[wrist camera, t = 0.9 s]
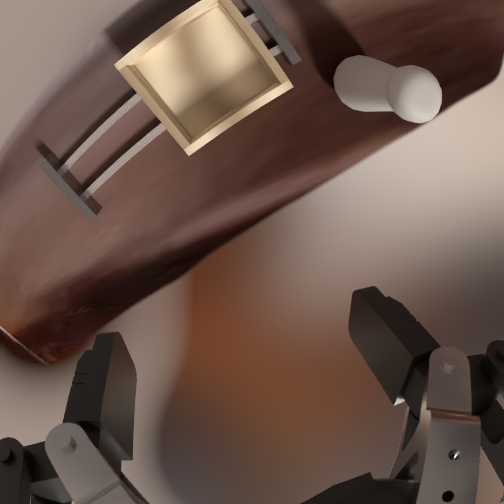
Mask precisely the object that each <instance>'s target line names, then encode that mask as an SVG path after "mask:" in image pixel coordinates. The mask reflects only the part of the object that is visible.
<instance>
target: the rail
mask: <svg viewBox="0 0 504 504" xmlns="http://www.w3.org/2000/svg"><path fill="white" fill-rule="evenodd" d="M244 4H245V5H246V6H247V8H248V9H249V10H250V11H251V13H252V14H251V15H249V16H248V17H246V18H245V19H246V21H247V22H248V23H249V24H250V25H251V24H252V23H254V22H256V21H258V22H259V23H260V25H261V26H262V27H263V29H264V30H265V31H266V33H267V34H268V35H269V37H270V38H271V40H272V41H273V42H274V44H275V45H276V46H275V47H273V48H271V49H269V52H270V53H271V54H272V56H273V57H274V56H275V55H277V54H279V53H281V54H282V55H283V57H284V58H285V60H286V61H287V63H288V64H289V65H294V64H295V63H297V62H299V61H301V58H300V57H299V55H298V54H297V52H296V51H295V49H294V48H293V46H292V45H291V43H290V42H289V41H288V39H287V38H286V36H285V35H284V33H283V32H282V31H281V29H280V28H279V26H278V25H277V24H276V22H275V21H274V20H273V18H272V17H271V16H270V14H269V13H268V12H267V10H266V9H265V8H264V6H263V5H262V4H261V2H260V1H259V0H244ZM141 100H142V98H141V97H140V96H139V95H138V93H137V94H135V95H134V96H133V97H132V98H131V99H130V100H128V101H127V102H126V103H125V104H124V105H123V106H122V107H120V108H119V109H118V110H117V111H116V112H115V113H114V114H113V115H112V116H111V117H110V118H108V119H107V120H106V121H105V122H104V123H103V124H102V125H101V126H100V127H99V128H98V129H97V130H96V131H95V132H94V133H93V134H92V135H91V136H90V137H89V138H88V139H87V140H86V141H85V142H84V143H83V144H82V145H81V146H80V147H79V148H78V149H77V150H76V151H75V152H74V153H73V155H72V156H71V157H70V158H69V159H68V160H67V161H66V162H65V163H64V164H62V163H61V162H60V160H59V159H58V158H57V157H56V156H55V155H54V153H53V152H52V153H51V154H49V155H48V156H46V157H45V158H44V159H43V160H42V161H41V163H40V164H39V166H40V167H41V169H42V170H43V171H44V172H45V173H46V174H47V175H48V177H49V178H50V179H51V180H52V181H53V182H54V183H55V185H56V186H57V187H58V188H59V189H60V190H61V191H62V192H63V194H64V195H65V196H66V197H67V198H68V199H69V200H70V201H71V202H72V203H73V204H74V206H75V207H76V208H77V209H78V210H79V211H80V212H81V213H82V214H83V215H84V216H85V217H86V218H87V219H88V220H89V221H90V222H91V221H92V220H93V219H94V218H95V217H96V216H97V215H98V213H99V212H100V210H101V209H102V207H101V206H100V205H99V204H98V203H97V202H96V201H95V200H94V199H93V198H92V196H91V194H92V193H93V192H94V191H95V190H96V189H98V188H99V187H100V186H101V185H102V184H103V183H104V182H105V181H106V180H107V179H108V178H109V177H110V176H111V175H112V174H114V173H115V172H116V171H117V170H118V169H119V168H120V167H121V166H122V165H124V164H125V163H126V162H127V161H128V160H129V159H130V158H132V157H133V156H134V155H135V154H136V153H137V152H139V151H140V150H141V149H142V148H143V147H145V146H146V145H147V144H148V143H149V142H151V141H152V140H153V139H154V138H155V137H157V136H158V135H159V134H160V133H162V132H163V131H164V130H166V127H165V126H164V125H163V124H162V123H160V124H159V125H158V126H157V127H155V128H154V129H153V130H152V131H150V132H149V133H148V134H147V135H146V136H144V137H143V138H142V139H141V140H140V141H138V142H137V143H136V144H135V145H134V146H133V147H131V148H130V149H129V150H128V151H127V152H126V153H125V154H123V155H122V156H121V157H120V158H119V159H118V160H117V161H116V162H115V163H113V164H112V165H111V166H110V167H109V168H108V169H107V170H106V171H105V172H104V173H103V174H102V175H101V176H100V177H99V178H98V179H96V180H95V181H94V182H93V183H92V184H91V185H90V186H89V187H88V188H87V189H86V190H85V189H84V188H83V187H82V185H81V184H80V183H79V182H78V181H77V180H76V179H75V178H74V177H73V175H72V174H71V173H70V172H69V171H68V170H69V169H70V167H71V166H72V165H73V164H74V163H75V162H76V161H77V160H78V159H79V158H80V157H81V156H82V155H83V154H84V153H85V152H86V151H87V150H88V149H89V148H90V147H91V146H92V145H93V144H94V143H95V142H96V141H97V140H98V139H99V138H100V137H101V136H102V135H103V134H104V133H105V132H106V131H107V130H108V129H109V128H110V127H111V126H112V125H114V124H115V123H116V122H117V121H118V120H119V119H120V118H121V117H122V116H124V115H125V114H126V113H127V112H128V111H129V110H130V109H132V108H133V107H134V106H135V105H136V104H137V103H139V102H140V101H141Z"/></svg>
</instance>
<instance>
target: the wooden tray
mask: <svg viewBox="0 0 504 504" xmlns="http://www.w3.org/2000/svg"><path fill="white" fill-rule="evenodd" d="M115 67H116V68H117V69H118V70H119V72H120V73H121V74H122V75H123V76H124V78H125V79H126V80H127V81H128V82H129V84H130V85H131V86H132V87H133V88H134V90H135V91H136V92H137V93H138V95H139V96H140V97H141V98H142V99H143V101H144V102H145V103H146V104H147V105H148V107H149V108H150V109H151V110H152V112H153V113H154V114H155V115H156V116H157V118H158V119H159V120H160V121H161V123H162V124H163V125H164V126H165V127H166V129H167V130H168V131H169V132H170V134H171V135H172V136H173V137H174V138H175V140H176V141H177V142H178V143H179V145H180V146H181V147H182V148H183V150H184V151H185V152H186V153H187V154H188V156H190V155H191V154H192V153H194V152H195V151H196V150H198V149H199V148H201V147H202V146H203V145H205V144H206V143H208V142H209V141H210V140H212V139H213V138H215V137H216V136H218V135H219V134H220V133H222V132H223V131H225V130H226V129H228V128H229V127H231V126H232V125H234V124H235V123H237V122H238V121H240V120H241V119H243V118H244V117H246V116H247V115H249V114H250V113H252V112H253V111H255V110H257V109H258V108H260V107H261V106H263V105H265V104H266V103H268V102H269V101H271V100H273V99H274V98H276V97H278V96H279V95H281V94H283V93H284V92H286V91H288V90H289V89H291V88H293V85H292V84H291V82H290V81H289V79H288V78H287V76H286V75H285V73H284V72H283V70H282V69H281V67H280V66H279V65H278V63H277V62H276V60H275V59H274V57H273V56H272V54H271V53H270V52H269V50H268V49H267V47H266V46H265V45H264V43H263V42H262V41H261V39H260V38H259V36H258V35H257V34H256V32H255V31H254V30H253V28H252V27H251V26H250V24H249V23H248V22H247V21H246V19H245V18H244V17H243V15H242V14H241V13H240V12H239V10H238V9H237V8H236V7H235V5H234V4H233V3H232V2H231V0H201V1H200V2H198V3H196V4H195V5H193V6H192V7H190V8H189V9H187V10H185V11H184V12H182V13H181V14H179V15H178V16H176V17H175V18H174V19H172V20H171V21H169V22H168V23H166V24H165V25H164V26H162V27H161V28H159V29H158V30H157V31H155V32H154V33H153V34H151V35H150V36H149V37H147V38H146V39H145V40H144V41H142V42H141V43H140V44H139V45H137V46H136V47H135V48H134V49H132V50H131V51H130V52H129V53H128V54H126V55H125V56H124V57H123V58H122V59H121V60H119V61H118V62H117V63H116V64H115Z"/></svg>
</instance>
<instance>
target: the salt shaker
mask: <svg viewBox="0 0 504 504" xmlns="http://www.w3.org/2000/svg"><path fill="white" fill-rule="evenodd" d="M333 79H334V87H335V91H336V93H337V94H338V96H339V98H340V100H341V101H342V102H343V103H344V104H346V105H347V106H349V107H350V108H352V109H354V110H360V111H394V112H395V113H396V114H398V115H399V116H400V117H401V118H403V119H405V120H407V121H411V122H415V123H423V122H426V121H429V120H431V119H432V118H433V117H434V116H435V115H436V114H437V113H438V111H439V108H440V105H441V103H442V92H441V88H440V85H439V83H438V81H437V79H436V78H435V77H434V76H433V75H432V74H431V73H430V72H429V71H428V70H426V69H423V68H420V67H417V66H414V65H408V66H403V67H399V68H396V67H394V66H392V65H389V64H387V63H384V62H381V61H379V60H376V59H374V58H371V57H366V56H362V55H357V56H353V57H349V58H346V59H345V60H344V61H343V62H341V63H340V64H339V65H338V66H337V69H336V72H335V75H334V77H333Z"/></svg>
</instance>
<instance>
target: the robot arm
mask: <svg viewBox="0 0 504 504" xmlns="http://www.w3.org/2000/svg"><path fill="white" fill-rule="evenodd" d="M348 327H349V333H350V337H351V339H352V341H353V343H354V344H355V346H356V347H357V349H358V350H359V352H360V353H361V355H362V356H363V358H364V359H365V361H366V363H367V364H368V366H369V367H370V369H371V370H372V372H373V373H374V375H375V376H376V378H377V380H378V381H379V383H380V384H381V386H382V388H383V389H384V391H385V392H386V394H387V395H388V397H389V399H390V400H391V402H392V403H393V405H397V404H399V403H401V402H404V401H405V402H406V403H407V404H408V407H407V410H406V414H405V420H404V426H403V431H402V436H401V441H400V445H399V450H398V454H397V458H396V460H395V463H394V464H393V467H392V470H391V472H390V475H389V478H385V479H373V478H372V476H371V473H370V472H369V473H366V474H364V475H361V476H358V477H356V478H353V479H351V480H348V481H345V482H342V483H339V484H336V485H334V486H332V487H330V488H328V489H326V490H325V491H323V492H321V493H320V494H318V495H316V496H314V497H312V498H311V499H309V500H307V501H305V502H303V503H301V504H475V501H476V493H477V485H478V475H479V462H480V445H481V447H482V449H483V450H484V452H485V454H486V455H487V457H488V459H489V461H490V462H491V464H492V466H493V468H494V469H495V471H496V473H497V475H498V477H499V478H500V480H501V482H502V484H503V486H504V409H502V407H501V405H500V404H499V402H498V401H497V400H496V399H497V397H498V396H499V394H500V393H501V394H502V396H503V397H504V341H501V340H496V341H493V342H491V343H490V344H489V345H488V347H487V349H486V351H485V353H484V354H479V355H472V356H465V354H463V353H462V352H461V351H459V350H458V349H455V348H452V347H441V346H440V345H439V344H438V343H437V342H436V341H435V339H434V338H433V337H432V336H431V335H430V334H429V333H428V332H427V330H426V329H425V328H424V327H423V326H422V325H421V324H420V323H419V322H418V321H416V318H415V317H414V316H413V315H412V314H410V313H409V311H408V310H407V309H406V308H405V307H404V306H403V304H402V303H400V302H398V301H396V300H395V299H393V298H391V297H385V296H384V295H383V294H382V293H381V292H380V291H379V290H378V288H376V287H375V286H371V287H367V288H363V289H359V290H355V291H354V292H353V294H352V301H351V309H350V316H349V325H348ZM136 376H137V375H136V369H135V365H134V363H133V361H132V358H131V356H130V354H129V352H128V349H127V347H126V345H125V342H124V340H123V338H122V336H121V334H120V333H119V332H110V333H101V334H97V336H96V339H95V342H94V346H93V350H86V351H85V353H84V354H83V355H82V357H81V358H80V359H79V361H78V363H77V367H76V371H75V376H74V378H73V382H72V386H71V389H70V393H69V397H68V401H67V406H66V410H65V415H64V419H63V423H62V424H60V425H58V426H56V427H54V428H53V429H52V430H51V431H50V432H49V434H48V435H47V438H46V441H44V442H40V443H36V444H32V445H28V446H23V445H22V444H21V443H20V442H19V441H17V440H16V439H14V438H9V437H7V438H4V439H1V440H0V504H30V497H31V504H71V502H72V501H74V503H75V504H150V503H149V502H148V501H147V500H146V499H145V498H144V497H143V495H142V494H141V493H140V492H139V491H138V490H137V489H136V488H135V487H134V485H133V484H132V483H131V482H130V481H129V479H128V478H127V477H126V476H125V475H124V473H123V472H122V471H121V460H133V431H134V411H135V396H136V383H137V377H136ZM500 504H504V494H503V496H502V498H501V500H500Z"/></svg>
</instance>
